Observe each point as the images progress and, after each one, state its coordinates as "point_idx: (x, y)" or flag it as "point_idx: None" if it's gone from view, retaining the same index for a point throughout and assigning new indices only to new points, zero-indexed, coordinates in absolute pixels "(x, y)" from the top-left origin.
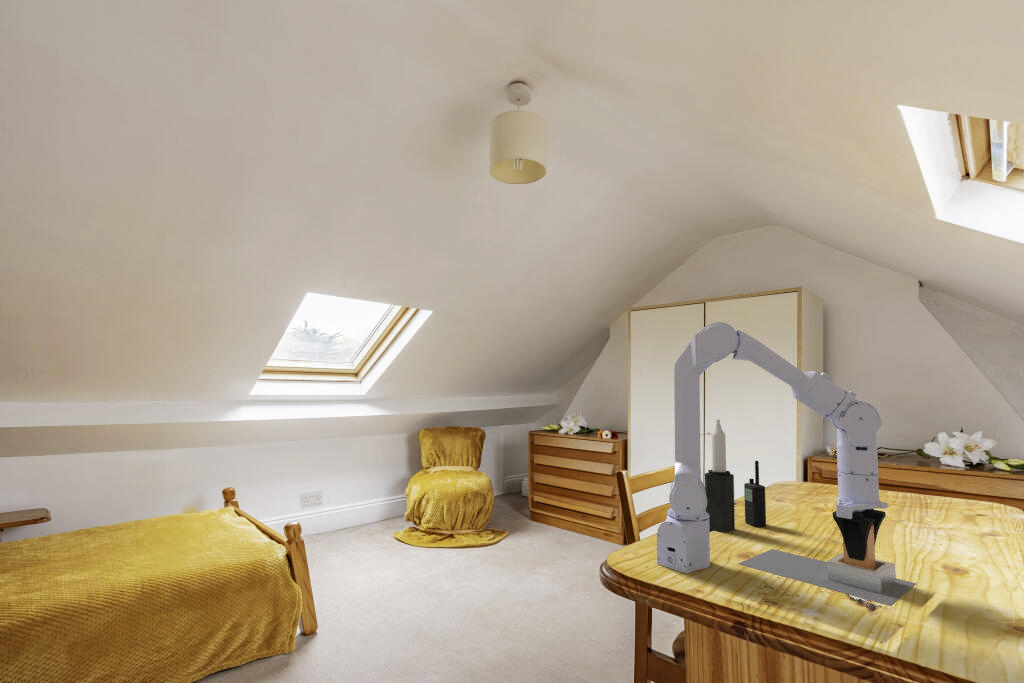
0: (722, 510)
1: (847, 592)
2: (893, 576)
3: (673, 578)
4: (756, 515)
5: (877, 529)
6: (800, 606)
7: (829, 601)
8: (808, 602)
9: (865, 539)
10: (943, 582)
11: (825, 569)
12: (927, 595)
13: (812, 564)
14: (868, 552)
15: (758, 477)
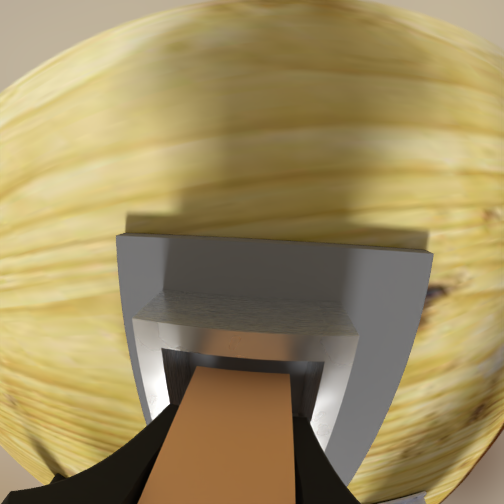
0: None
1: (395, 366)
2: (177, 302)
3: (430, 493)
4: None
5: (108, 484)
6: (481, 383)
7: (436, 370)
8: (458, 387)
9: (350, 493)
10: (31, 194)
11: None
12: (166, 192)
13: None
14: (279, 433)
15: None
